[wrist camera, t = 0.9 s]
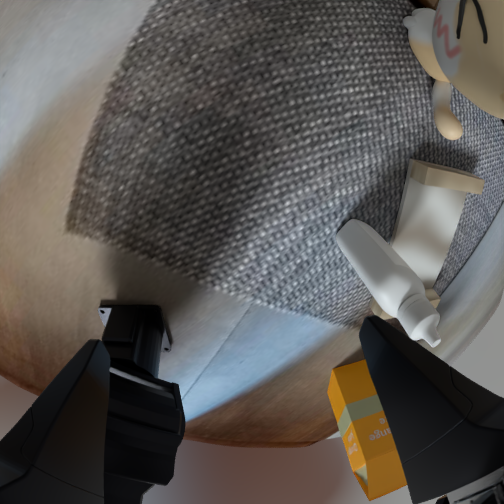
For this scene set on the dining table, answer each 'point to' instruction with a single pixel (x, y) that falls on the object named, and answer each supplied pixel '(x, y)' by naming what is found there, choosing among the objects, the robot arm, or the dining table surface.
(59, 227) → the dining table surface
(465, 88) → the kitten
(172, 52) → the dining table surface
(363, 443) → the orange juice
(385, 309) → the eye dropper bottle
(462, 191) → the u rest
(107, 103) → the dining table surface
